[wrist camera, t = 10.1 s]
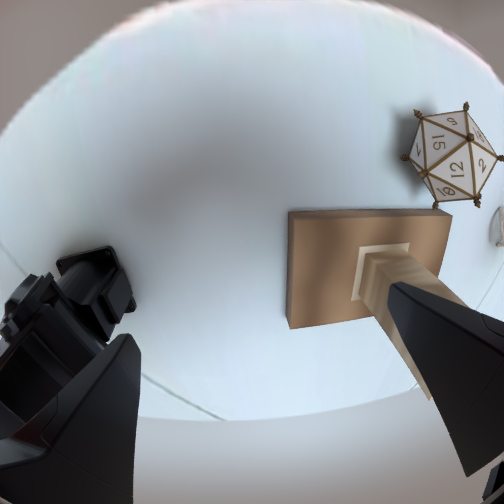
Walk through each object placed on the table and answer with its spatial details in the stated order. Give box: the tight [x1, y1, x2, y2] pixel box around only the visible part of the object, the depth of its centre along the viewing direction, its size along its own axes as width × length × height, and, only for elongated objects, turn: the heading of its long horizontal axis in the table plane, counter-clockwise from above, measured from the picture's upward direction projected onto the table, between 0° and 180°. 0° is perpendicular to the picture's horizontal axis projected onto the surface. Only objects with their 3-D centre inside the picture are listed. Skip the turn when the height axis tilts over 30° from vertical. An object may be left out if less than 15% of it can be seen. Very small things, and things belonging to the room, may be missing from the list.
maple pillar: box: [358, 249, 469, 401], centre depth 16 cm, size 4×4×12 cm
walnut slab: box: [286, 209, 453, 329], centre depth 22 cm, size 16×10×2 cm, turn 92°
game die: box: [400, 101, 504, 211], centre depth 16 cm, size 9×8×10 cm
